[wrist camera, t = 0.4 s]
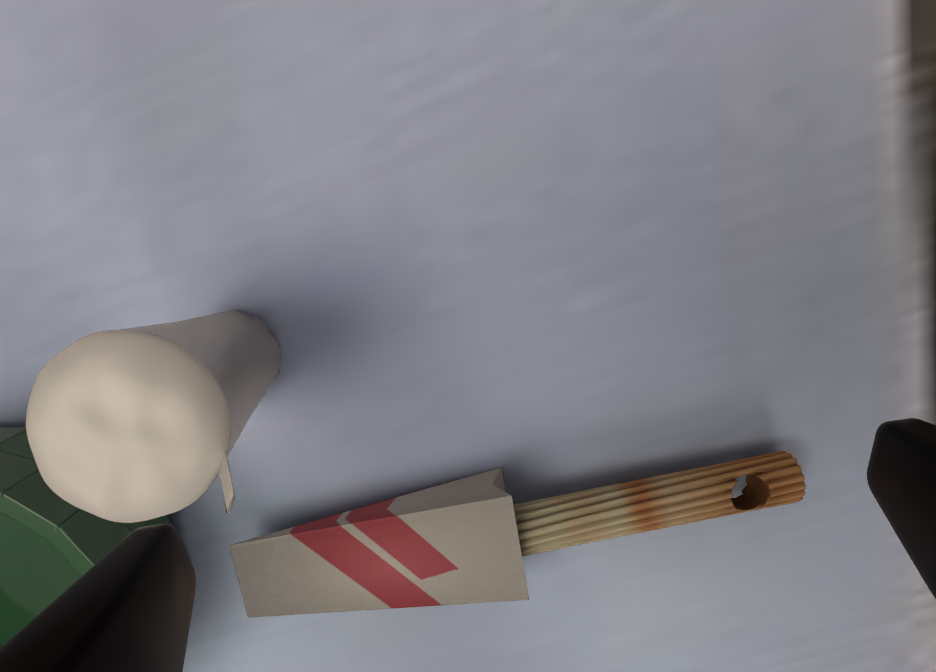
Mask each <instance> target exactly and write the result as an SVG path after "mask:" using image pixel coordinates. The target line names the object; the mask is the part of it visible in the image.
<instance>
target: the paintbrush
mask: <svg viewBox="0 0 936 672" xmlns="http://www.w3.org/2000/svg"><path fill="white" fill-rule="evenodd" d="M742 475H747V477H746V483H747V485H746V486H745V488H744V489H743V490H742V493H743V494H742V495H740V496H738V497H736V498H732V491H731V489H732V488H733V487H734V485H735V484H736V483H737V481H738V480H735V479H736V478H738V477H739V476H742ZM805 488H806V485H805V483H804V475H803V474H802V473H801V467H800V465H798V464H797V460H796V458H793V457H792V455H791V453H787V452H786V451H778V452H773V453H768V454H764V455H759V456H754V457H749V458H745V459H740V460H735V461H730V462H726V463H720V464H715V465H710V466H705V467H700V468H695V469H690V470H684V471H679V472H674V473H669V474H664V475H659V476H654V477H649V478H643V479H638V480H633V481H628V482H623V483H618V484H613V485H608V486H603V487H598V488H593V489H588V490H584V491H579V492H574V493H569V494H564V495H559V496H554V497H549V498H544V499H539V500H534V501H529V502H525V503H519V504H513V501H512V496H511V495H510V494H508V493H506V490H505V484H504V478H503V473H502V467H501V468H497V469H494V470H490V471H487V472H483V473H480V474H476V475H473V476H469V477H466V478H462V479H459V480H455V481H452V482H448V483H445V484H441V485H438V486H434V487H431V488H427V489H424V490H420V491H417V492H413V493H410V494H406V495H403V496H399V497H396V498H392V499H389V500H385V501H382V502H378V503H375V504H371V505H368V506H364V507H361V508H357V509H354V510H351V511H347V512H344V513H340V514H337V515H333V516H330V517H326V518H323V519H319V520H316V521H312V522H309V523H305V524H302V525H298V526H295V527H291V528H288V529H284V530H281V531H277V532H274V533H270V534H267V535H263V536H260V537H256V538H253V539H249V540H246V541H242V542H239V543H235V544H232V545H229V546H230V550H231V554H232V558H233V562H234V565H235V569H236V573H237V577H238V581H239V585H240V589H241V593H242V596H243V600H244V604H245V608H246V612H247V616H248V617H263V616H278V615H294V614H310V613H326V612H342V611H358V610H373V609H389V608H405V607H421V606H437V605H452V604H468V603H484V602H500V601H516V600H529V596H528V590H527V584H526V578H525V572H524V566H523V560H522V556H525V555H530V554H535V553H540V552H545V551H550V550H555V549H560V548H565V547H569V546H574V545H579V544H584V543H590V542H595V541H600V540H605V539H610V538H615V537H620V536H625V535H630V534H635V533H640V532H645V531H650V530H655V529H661V528H666V527H671V526H676V525H681V524H686V523H691V522H696V521H701V520H706V519H711V518H716V517H721V516H726V515H731V514H737V513H742V512H747V511H752V510H758V509H763V508H768V507H774V506H779V505H785V504H790V503H795V502H797V501H800V500H802V499H803V496H804V495H805V491H804V489H805Z"/></svg>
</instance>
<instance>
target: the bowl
mask: <svg viewBox="0 0 936 672" xmlns="http://www.w3.org/2000/svg"><path fill="white" fill-rule="evenodd" d="M166 523H167V524H171V522H170V519H169V517H168V515H164V516H161V517H158V518H154V519H150V520H146V521H141V522H134V523H121V522H113V521H109V520H106V519H103V518H100V517H98V516H96V515H93V514H91V513H89V512H86V511H84V510H82V509H80V508H78V507H75V506H73V505H72V504H70V503H68V502H66V501H65V500H63V499H62V498H61V497H59V496H58V495H57V494H56V493H54V492H53V491H52V490H51V489H50V488H49V486H48V485H47V484H46V483H45V481H44V480H43V478H42V476H41V474H40V472H39V469H38V467H37V464H36V462H35V459H34V456H33V453H32V450H31V448H30V444H29V441H28V437H27V432H26V427H0V648H1V647H2V646H3V645H5V644H6V643H7V642H8V641H9V640H10V639H11V638H13V637H14V636H15V635H16V634H17V633H18V632H19V631H20V630H22V629H23V628H24V627H25V626H26V625H27V624H28V623H30V622H31V621H32V620H33V619H34V618H35V617H36V616H37V615H39V614H40V613H41V612H42V611H43V610H44V609H45V608H47V607H48V606H49V605H50V604H51V603H52V602H53V601H55V600H56V599H57V598H58V597H59V596H60V595H61V594H62V593H64V592H65V591H66V590H67V589H68V588H69V587H70V586H72V585H73V584H74V583H75V582H76V581H77V580H78V579H79V578H81V577H82V576H83V575H84V574H85V573H86V572H87V571H89V570H90V569H91V568H92V567H93V566H94V565H95V564H97V563H98V562H99V561H100V560H101V559H102V558H103V557H104V556H106V555H107V554H108V553H109V552H110V551H111V550H112V549H114V548H115V547H116V546H117V545H118V544H119V543H120V542H121V541H123V540H124V539H125V538H126V537H127V536H128V535H129V534H131V533H132V532H133V531H134V530H136V529H138V528H140V527H144V526H151V525H158V524H166Z"/></svg>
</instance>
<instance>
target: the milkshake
mask: <svg viewBox="0 0 936 672" xmlns="http://www.w3.org/2000/svg"><path fill="white" fill-rule="evenodd" d="M279 355H280V344H279V342H278V341H277V340H276V338H275V337H274V336H273V334H272V333H271V331H270V330H269V329H268V327H267V326H266V324H265V323H264V322H263V320H261V319H258V318H255V317H253V316H250V315H247V314H244V313H242V312H239V311H236V310H229V311H224V312H220V313H215V314H211V315H206V316H202V317H197V318H192V319H188V320H183V321H178V322H171V323H164V324H156V325H148V326H141V327H134V328H127V329H120V330H110V331H102V332H97V333H93V334H90V335H88V336H85V337H83V338H81V339H79V340H77V341H75V342H74V343H72V344H71V345H69V346H68V347H66V348H65V349H63V350H62V351H61V352H59V353H58V354H57V355H55V356H54V357H53V358H52V359H51V360H50V361H49V362H48V363H47V364H46V365H45V366H44V367H43V368H42V370H41V371H40V373H39V374H38V376H37V378H36V381H35V383H34V386H33V388H32V391H31V395H30V398H29V402H28V407H27V414H26V432H27V437H28V441H29V444H30V448H31V450H32V453H33V456H34V459H35V462H36V464H37V467H38V469H39V472H40V474H41V476H42V478H43V480H44V481H45V483H46V484H47V485H48V486H49V488H50V489H51V490H52V491H53V492H54V493H56V494H57V495H58V496H59V497H61V498H62V499H63V500H65V501H66V502H68V503H70V504H72V505H73V506H75V507H78V508H80V509H82V510H84V511H86V512H89V513H91V514H93V515H96V516H98V517H100V518H103V519H106V520H109V521H113V522H121V523H134V522H141V521H146V520H150V519H154V518H158V517H161V516H164V515H168V514H171V513H174V512H177V511H179V510H181V509H183V508H185V507H187V506H189V505H190V504H192V503H193V502H195V501H196V500H197V499H198V498H199V497H200V496H202V495H203V494H204V492H205V491H206V490H207V489H208V488H209V487H210V486H211V484H212V483H213V481H214V480H215V478H216V477H217V475H218V473H219V472H220V478H221V484H222V489H223V495H224V501H225V507H226V512H227V514H229V513H230V511H231V508H232V505H233V502H234V499H235V494H234V489H233V484H232V479H231V474H230V469H229V464H228V459H227V457H228V456H229V454H230V452H231V450H232V448H233V447H234V445H235V443H236V441H237V439H238V438H239V436H240V434H241V432H242V430H243V429H244V427H245V425H246V423H247V421H248V420H249V418H250V416H251V415H252V413H253V412H254V410H255V409H256V407H257V406H258V404H259V403H260V401H261V400H262V398H263V397H264V395H265V394H266V392H267V391H268V389H269V388H270V386H271V385H272V383H273V382H274V380H275V379H276V377H277V376H278V374H279Z"/></svg>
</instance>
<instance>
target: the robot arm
mask: <svg viewBox="0 0 936 672" xmlns="http://www.w3.org/2000/svg"><path fill="white" fill-rule="evenodd" d="M867 480H868V484H869V487H870V490H871V492H872V494H873V495H874V497H875V499H876V500H877V502H878V504H879V505H880V507H881V509H882V511H883V512H884V514H885V516H886V517H887V519H888V521H889V522H890V524H891V526H892V527H893V529H894V531H895V533H896V534H897V536H898V538H899V539H900V541H901V543H902V544H903V546H904V548H905V549H906V551H907V553H908V554H909V556H910V558H911V560H912V561H913V563H914V565H915V566H916V568H917V570H918V571H919V573H920V575H921V576H922V578H923V580H924V581H925V583H926V585H927V586H928V588H929V589H930V591H931V592H932V594H933V596H934V597H935V599H936V425H933V424H931V423H928V422H925V421H923V420H920V419H915V418H908V419H901V420H894V421H887V422H885V423H883V424H881V425H880V426H879V428H878V429H877V432H876V435H875V439H874V444H873V448H872V452H871V456H870V461H869V465H868V469H867ZM195 587H196V579H195V572H194V568H193V566H192V563H191V561H190V559H189V556H188V554H187V551H186V549H185V547H184V544H183V542H182V539H181V537H180V535H179V532H178V531H177V529H176V528H175V527H174V526H173V525H172V524H167V523H166V524H158V525H151V526H144V527H140V528H138V529H136V530H134V531H133V532H132V533H131V534H129V535H128V536H127V537H126V538H125V539H124V540H123V541H121V542H120V543H119V544H118V545H117V546H116V547H115V548H114V549H112V550H111V551H110V552H109V553H108V554H107V555H106V556H104V557H103V558H102V559H101V560H100V561H99V562H98V563H97V564H95V565H94V566H93V567H92V568H91V569H90V570H89V571H87V572H86V573H85V574H84V575H83V576H82V577H81V578H79V579H78V580H77V581H76V582H75V583H74V584H73V585H72V586H70V587H69V588H68V589H67V590H66V591H65V592H64V593H62V594H61V595H60V596H59V597H58V598H57V599H56V600H55V601H53V602H52V603H51V604H50V605H49V606H48V607H47V608H45V609H44V610H43V611H42V612H41V613H40V614H39V615H37V616H36V617H35V618H34V619H33V620H32V621H31V622H30V623H28V624H27V625H26V626H25V627H24V628H23V629H22V630H20V631H19V632H18V633H17V634H16V635H15V636H14V637H13V638H11V639H10V640H9V641H8V642H7V643H6V644H5V645H3V646H2V647H1V648H0V672H182V671H183V665H184V659H185V652H186V646H187V639H188V633H189V627H190V620H191V614H192V607H193V601H194V594H195Z"/></svg>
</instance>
